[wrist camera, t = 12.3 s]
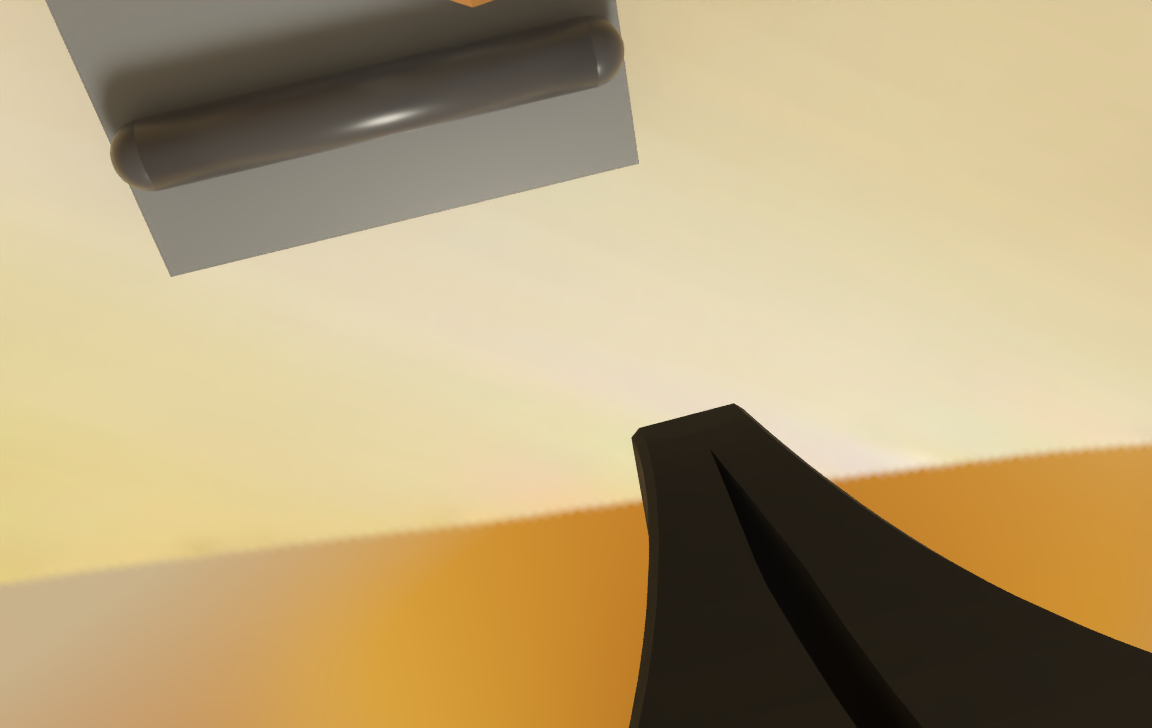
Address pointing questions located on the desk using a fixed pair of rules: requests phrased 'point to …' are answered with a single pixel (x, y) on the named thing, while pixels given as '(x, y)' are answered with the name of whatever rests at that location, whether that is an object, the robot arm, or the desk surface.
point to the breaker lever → (472, 2)
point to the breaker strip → (342, 110)
